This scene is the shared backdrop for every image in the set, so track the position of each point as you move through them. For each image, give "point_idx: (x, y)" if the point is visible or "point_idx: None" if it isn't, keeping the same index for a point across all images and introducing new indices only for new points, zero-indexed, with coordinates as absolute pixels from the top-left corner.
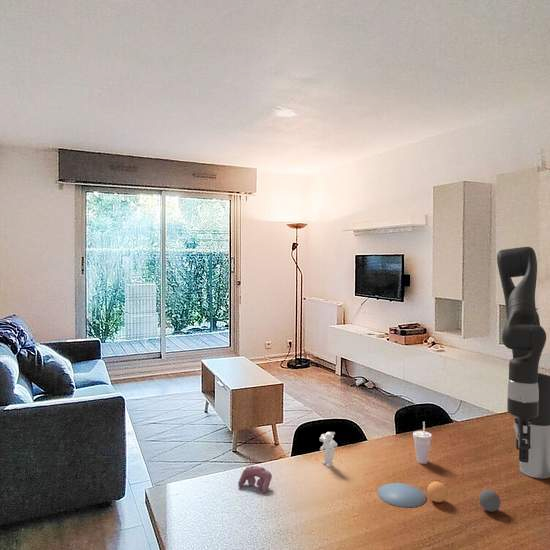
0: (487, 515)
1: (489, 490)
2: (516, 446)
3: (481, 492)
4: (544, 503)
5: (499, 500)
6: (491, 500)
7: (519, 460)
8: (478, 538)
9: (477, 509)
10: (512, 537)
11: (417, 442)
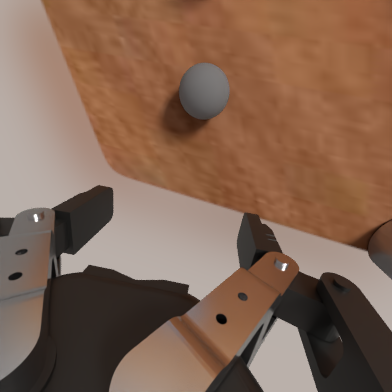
0: None
1: (204, 89)
2: (245, 216)
3: (209, 67)
4: None
5: (191, 114)
6: (180, 91)
7: (99, 185)
8: (83, 47)
9: None
10: (113, 121)
11: None
